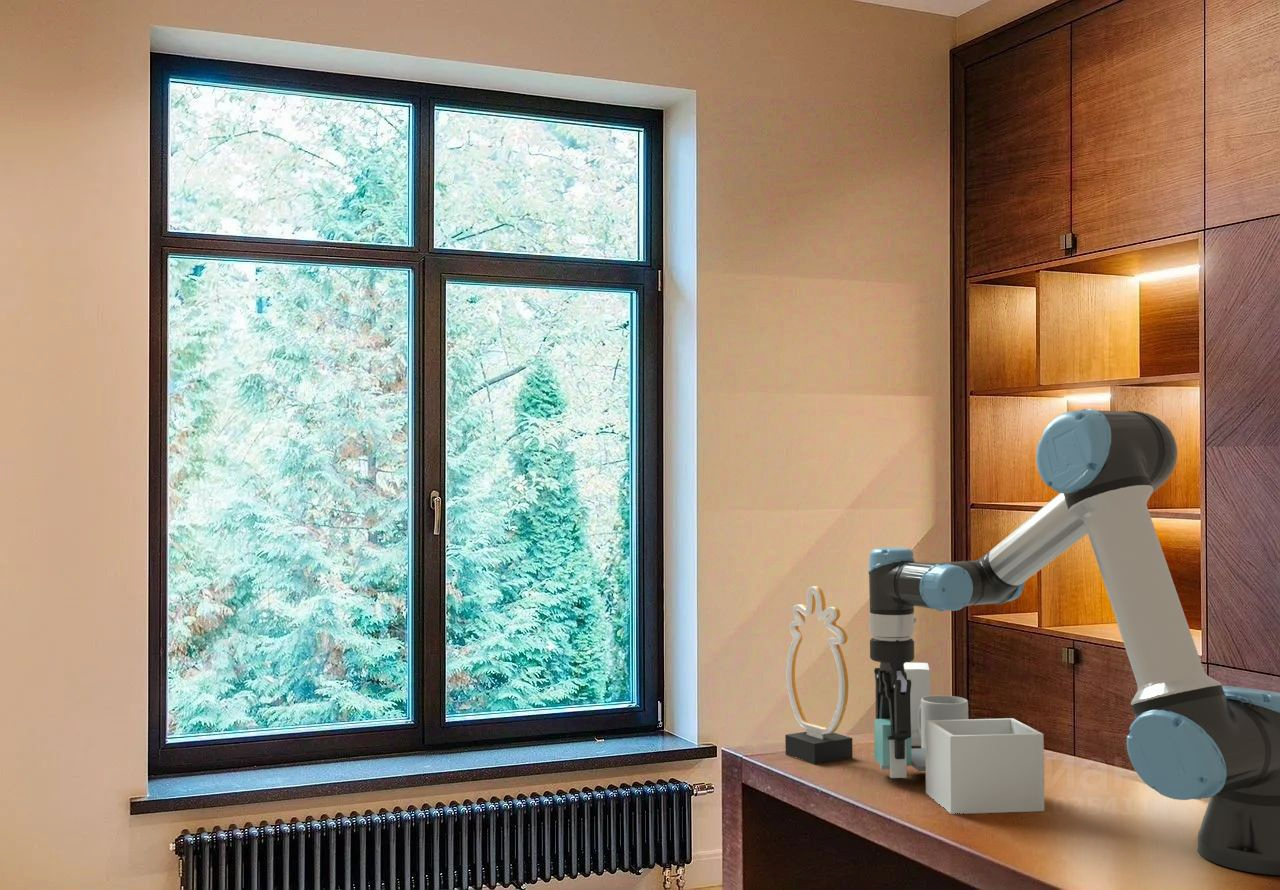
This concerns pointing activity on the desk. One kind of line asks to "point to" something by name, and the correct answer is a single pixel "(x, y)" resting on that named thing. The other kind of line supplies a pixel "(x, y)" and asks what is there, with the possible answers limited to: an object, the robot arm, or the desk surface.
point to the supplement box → (917, 694)
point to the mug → (940, 711)
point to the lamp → (821, 740)
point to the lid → (883, 748)
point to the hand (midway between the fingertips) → (893, 772)
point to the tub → (984, 765)
